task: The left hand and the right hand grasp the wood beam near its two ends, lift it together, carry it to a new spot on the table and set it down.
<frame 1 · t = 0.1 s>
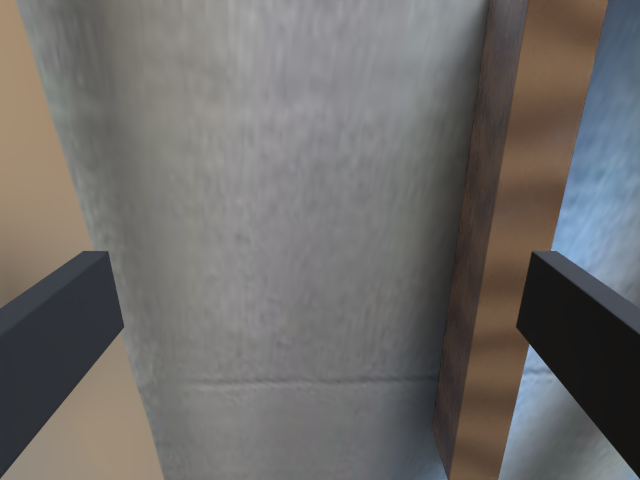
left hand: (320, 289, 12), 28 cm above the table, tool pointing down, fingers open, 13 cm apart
beam: (481, 253, 42), on the table
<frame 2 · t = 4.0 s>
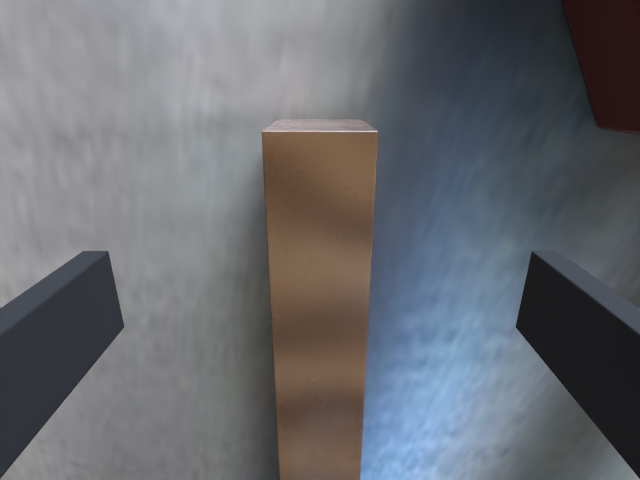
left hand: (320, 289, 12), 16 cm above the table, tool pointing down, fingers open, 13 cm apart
beam: (319, 416, 35), on the table, touching right hand
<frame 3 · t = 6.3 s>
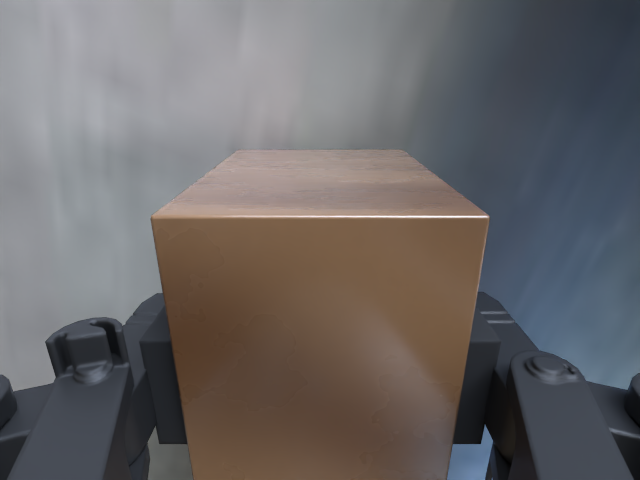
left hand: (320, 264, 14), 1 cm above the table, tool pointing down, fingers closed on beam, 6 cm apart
when the left hand's fingers open (1 cm above the table, at t = 13.0 s): beam stays where it is, held by the right hand.
when the right hand's fingers open (4 cm above the table, at t = 13.3 s): beam stays where it is, on the table.
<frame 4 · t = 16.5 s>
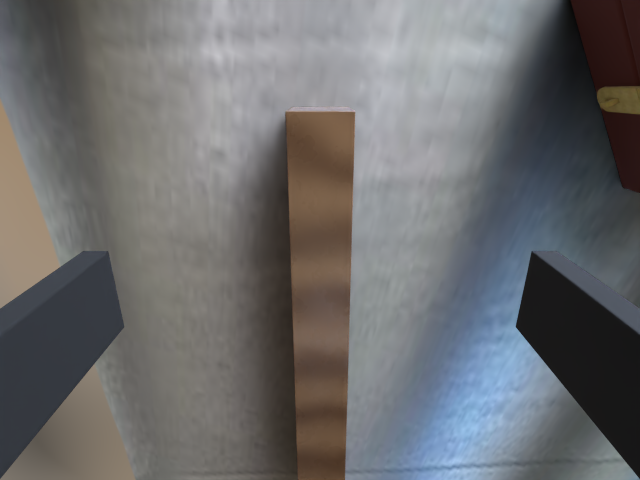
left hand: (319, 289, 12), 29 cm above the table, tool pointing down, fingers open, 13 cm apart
beam: (320, 327, 47), on the table
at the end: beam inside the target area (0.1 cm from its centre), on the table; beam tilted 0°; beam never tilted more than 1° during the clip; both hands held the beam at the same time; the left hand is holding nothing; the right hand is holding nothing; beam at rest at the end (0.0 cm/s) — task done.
